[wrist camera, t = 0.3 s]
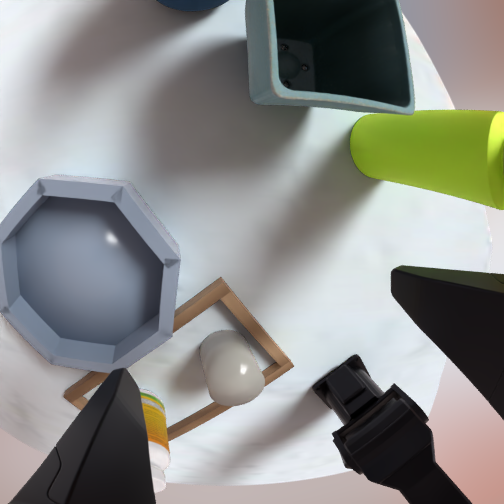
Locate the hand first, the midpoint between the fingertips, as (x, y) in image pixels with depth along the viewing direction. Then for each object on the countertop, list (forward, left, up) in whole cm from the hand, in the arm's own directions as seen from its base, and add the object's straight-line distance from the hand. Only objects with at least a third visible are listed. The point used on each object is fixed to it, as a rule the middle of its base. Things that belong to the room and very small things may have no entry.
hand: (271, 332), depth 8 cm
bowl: (+3, +10, -14) cm, 17 cm away
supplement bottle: (-10, +17, -14) cm, 24 cm away
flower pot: (+7, -11, -14) cm, 19 cm away
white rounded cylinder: (-10, +6, -14) cm, 18 cm away
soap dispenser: (-3, -15, -14) cm, 21 cm away
